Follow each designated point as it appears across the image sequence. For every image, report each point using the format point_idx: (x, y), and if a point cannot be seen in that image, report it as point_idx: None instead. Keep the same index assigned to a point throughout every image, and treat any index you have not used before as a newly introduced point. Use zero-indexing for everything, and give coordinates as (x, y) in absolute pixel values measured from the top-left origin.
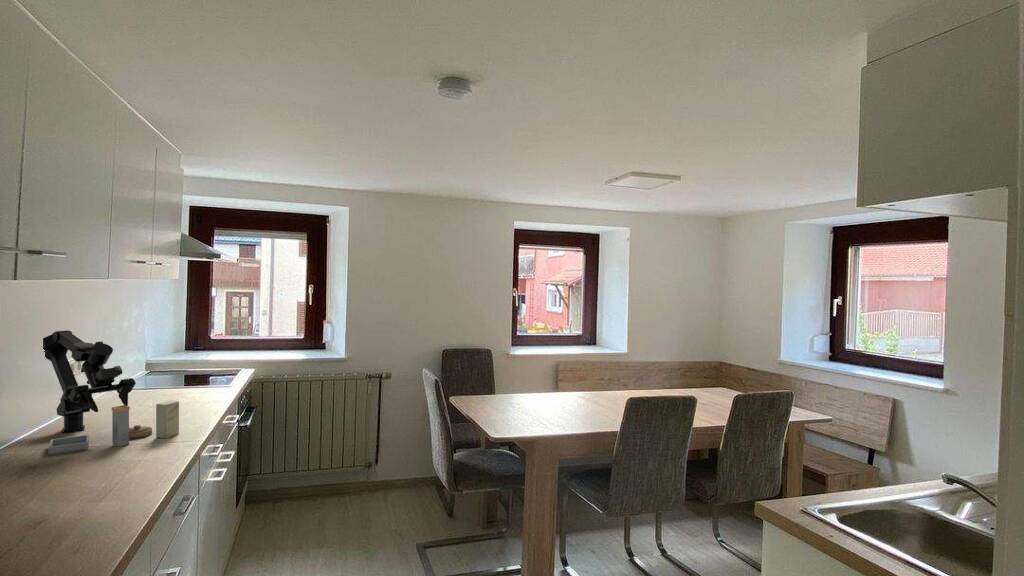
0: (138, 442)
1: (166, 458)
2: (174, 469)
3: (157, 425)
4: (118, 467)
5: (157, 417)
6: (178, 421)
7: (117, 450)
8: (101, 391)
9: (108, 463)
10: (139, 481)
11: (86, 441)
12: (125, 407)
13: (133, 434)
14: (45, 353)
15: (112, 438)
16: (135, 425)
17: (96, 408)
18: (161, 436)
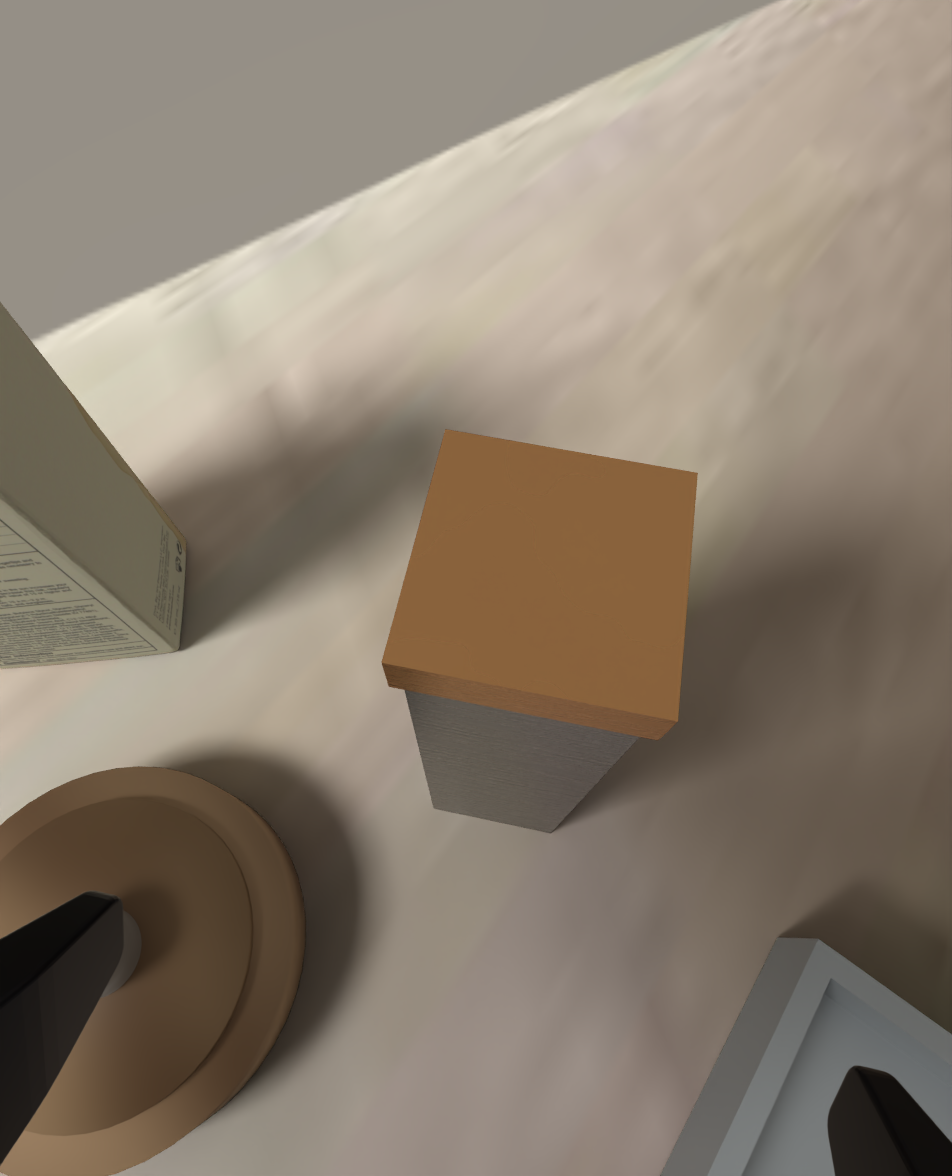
0: (371, 671)
1: (592, 196)
2: (699, 63)
3: (122, 574)
4: (860, 296)
5: (66, 521)
6: None
7: None
8: None
9: (861, 409)
10: (901, 76)
11: (810, 1008)
12: (528, 448)
13: (268, 836)
14: None
15: (560, 821)
16: None
17: (924, 1128)
18: (180, 578)
